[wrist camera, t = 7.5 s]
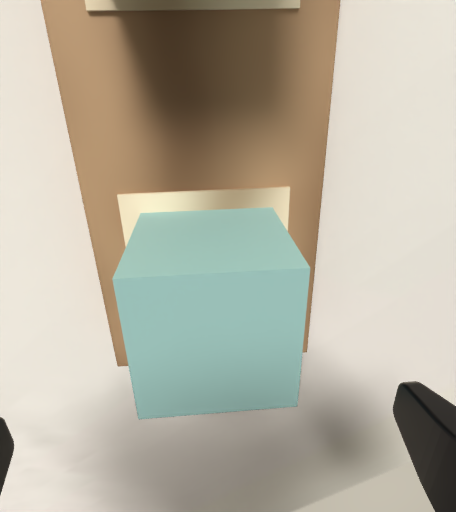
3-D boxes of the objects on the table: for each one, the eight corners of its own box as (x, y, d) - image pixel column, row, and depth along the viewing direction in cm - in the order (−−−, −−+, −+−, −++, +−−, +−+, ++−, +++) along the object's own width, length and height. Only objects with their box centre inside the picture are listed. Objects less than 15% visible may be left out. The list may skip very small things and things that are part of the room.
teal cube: (272, 207, 14) (310, 267, 9) (268, 314, 16) (297, 406, 11) (140, 213, 13) (112, 278, 9) (155, 322, 15) (138, 419, 11)
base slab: (340, -335, 10) (387, -472, 7) (293, 321, 19) (307, 354, 17) (0, -353, 9) (-70, -506, 7) (127, 332, 19) (116, 368, 16)
